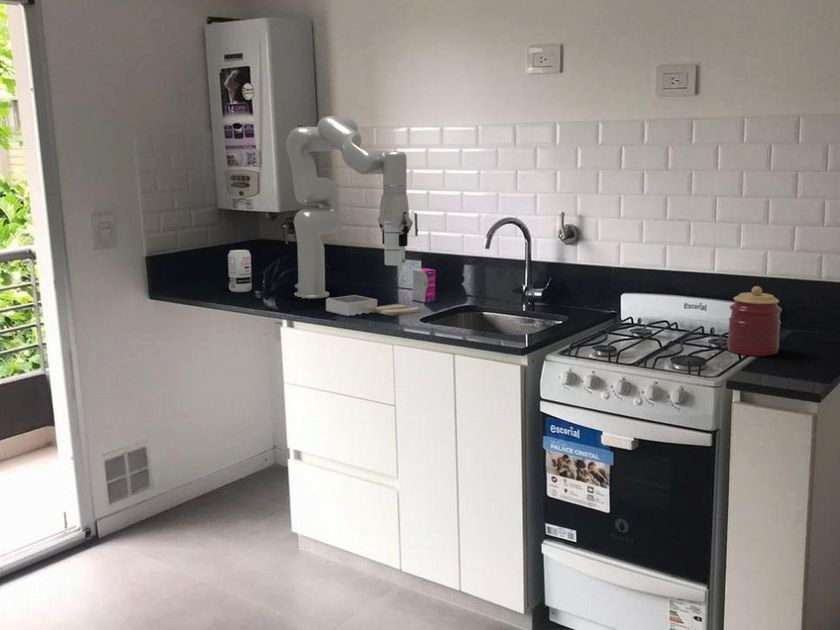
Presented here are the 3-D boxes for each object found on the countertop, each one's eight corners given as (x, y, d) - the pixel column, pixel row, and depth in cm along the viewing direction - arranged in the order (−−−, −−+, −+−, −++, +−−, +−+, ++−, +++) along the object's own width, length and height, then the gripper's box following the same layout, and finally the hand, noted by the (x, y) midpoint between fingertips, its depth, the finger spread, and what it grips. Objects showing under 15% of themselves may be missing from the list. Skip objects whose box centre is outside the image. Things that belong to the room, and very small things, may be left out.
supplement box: (423, 303, 308) (423, 270, 306) (412, 301, 312) (412, 269, 310) (435, 301, 312) (435, 269, 309) (424, 299, 316) (424, 267, 314)
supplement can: (233, 288, 338) (232, 249, 335) (254, 289, 337) (253, 249, 334) (226, 292, 330) (224, 251, 327) (247, 292, 329) (246, 252, 326)
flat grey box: (313, 307, 298) (313, 296, 298) (342, 303, 306) (342, 292, 305) (348, 315, 284) (347, 303, 283) (377, 311, 292) (377, 299, 291)
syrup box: (401, 265, 287) (401, 220, 284) (383, 265, 288) (383, 220, 285) (405, 263, 292) (405, 219, 290) (387, 263, 293) (388, 219, 291)
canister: (788, 353, 236) (794, 287, 232) (759, 359, 228) (764, 291, 225) (745, 344, 246) (750, 281, 243) (716, 350, 239) (720, 285, 235)
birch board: (369, 310, 293) (369, 307, 293) (397, 306, 301) (397, 303, 301) (392, 315, 285) (392, 312, 284) (420, 311, 292) (420, 308, 292)
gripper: (368, 189, 290) (369, 243, 293) (403, 192, 277) (403, 248, 280) (386, 189, 295) (386, 242, 298) (421, 191, 282) (421, 246, 285)
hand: (394, 244), depth 289 cm, fingers closed on syrup box, 7 cm apart
